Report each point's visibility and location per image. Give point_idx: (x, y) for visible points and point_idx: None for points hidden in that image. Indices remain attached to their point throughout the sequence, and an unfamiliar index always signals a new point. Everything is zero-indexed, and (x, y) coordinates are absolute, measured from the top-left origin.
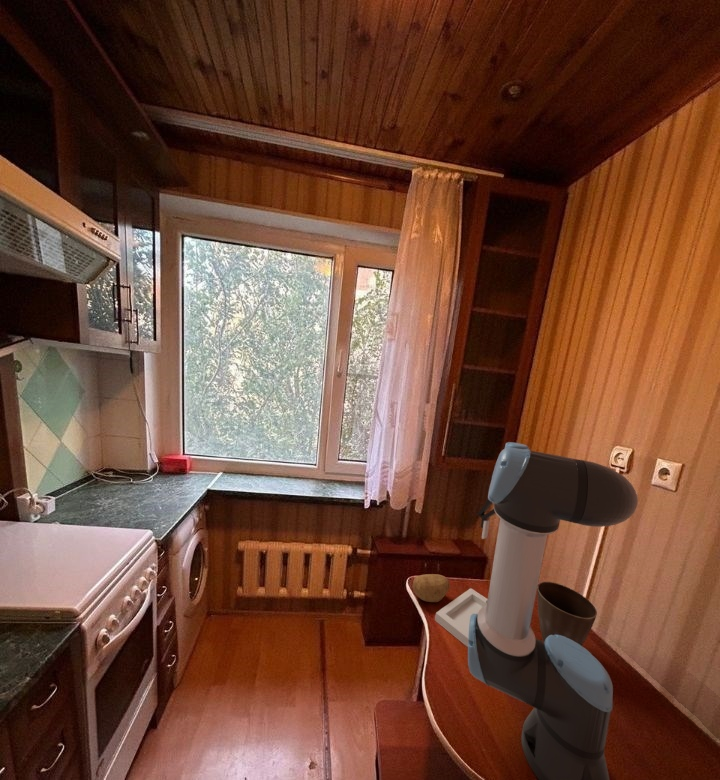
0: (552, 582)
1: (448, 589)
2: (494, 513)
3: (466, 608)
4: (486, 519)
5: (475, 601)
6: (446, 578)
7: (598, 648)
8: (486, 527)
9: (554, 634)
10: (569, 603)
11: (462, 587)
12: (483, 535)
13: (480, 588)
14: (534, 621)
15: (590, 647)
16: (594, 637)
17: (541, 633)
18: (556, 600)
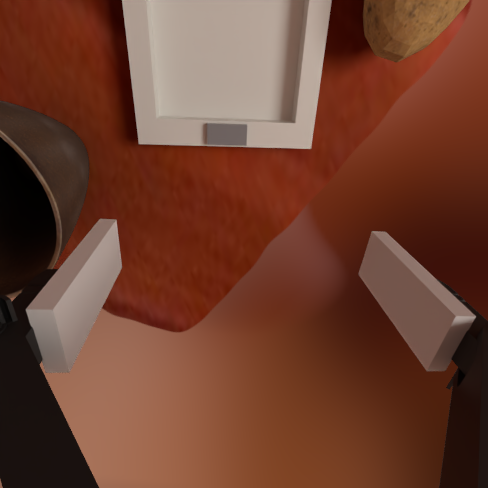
0: None
1: (366, 19)
2: (459, 456)
3: (284, 56)
4: (458, 354)
5: (278, 120)
6: (398, 38)
7: None
8: (407, 297)
9: None
10: (11, 262)
11: (334, 156)
12: (386, 242)
13: (293, 203)
14: (139, 206)
15: None
16: None
17: (76, 138)
18: (51, 248)
